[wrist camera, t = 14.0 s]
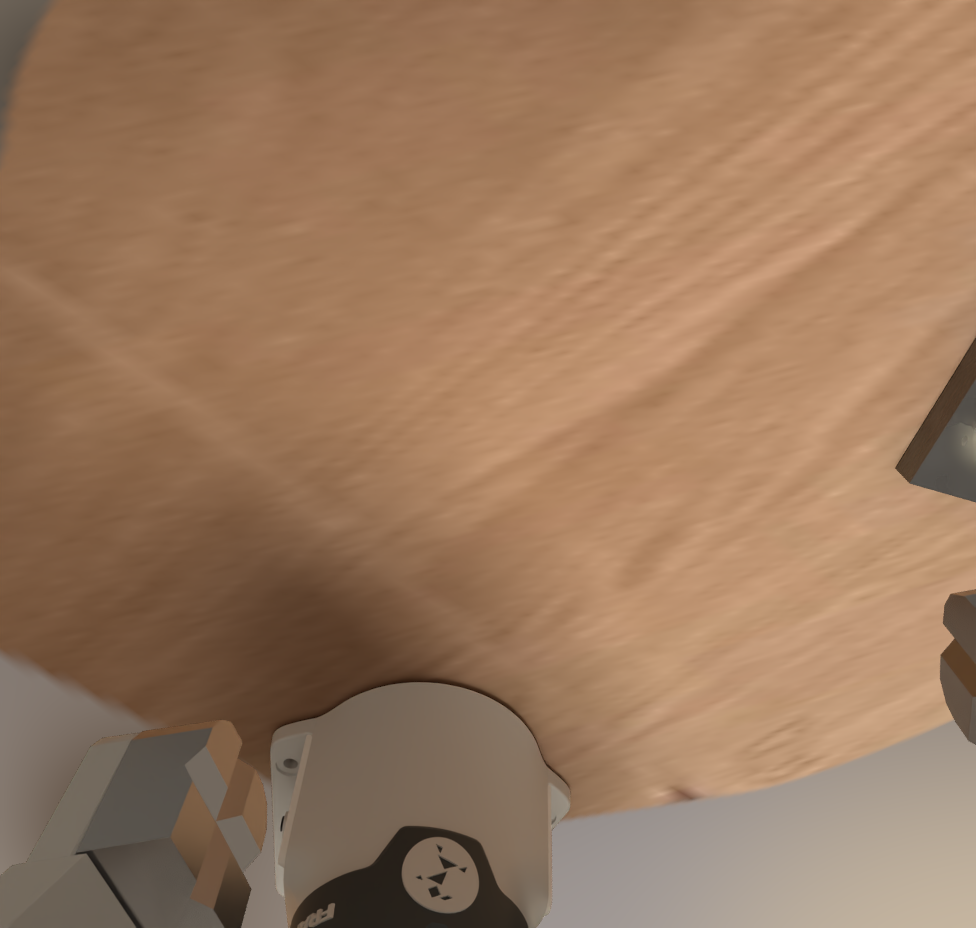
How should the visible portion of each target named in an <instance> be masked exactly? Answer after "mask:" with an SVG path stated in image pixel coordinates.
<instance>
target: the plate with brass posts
mask: <svg viewBox="0 0 976 928" xmlns="http://www.w3.org/2000/svg"><path fill="white" fill-rule="evenodd" d="M895 469H896V470H897V471H898V472H899V473H900V474H901V475H902V476H903V477H904V478H905V479H906V480H907V481H908V482H909V483H910V484H914V485H917V486H921V487H924V488H928V489H931V490H935V491H938V492H942V493H945V494H949V495H952V496H956V497H959V498H963V499H966V500H970V501H973V502H976V339H975V341H974V342H973V344H972V346H971V347H970V349H969V350H968V352H967V354H966V355H965V357H964V359H963V360H962V362H961V363H960V365H959V367H958V368H957V370H956V371H955V373H954V375H953V376H952V378H951V380H950V381H949V383H948V384H947V386H946V388H945V389H944V391H943V392H942V394H941V396H940V397H939V399H938V401H937V402H936V404H935V405H934V407H933V409H932V410H931V412H930V413H929V415H928V417H927V418H926V420H925V422H924V423H923V425H922V426H921V428H920V430H919V431H918V433H917V434H916V436H915V438H914V439H913V441H912V443H911V444H910V446H909V447H908V449H907V451H906V452H905V454H904V455H903V457H902V459H901V460H900V462H899V464H898V465H897V467H896V468H895Z"/></svg>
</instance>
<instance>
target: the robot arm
mask: <svg viewBox="0 0 976 928" xmlns="http://www.w3.org/2000/svg"><path fill="white" fill-rule="evenodd" d="M943 624H944V625H945V627H946V628H947V629H948V630H949V632H950V633H951V634H952V635H953V637H954V638H955V639H954V640H953V641H952V642H951V643H950V645H949V646H948V647H947V648H946V649H945V650H944V652H943V653H942V654H941V659H940V681H941V684H942V688H943V692H944V696H945V700H946V704H947V706H948V708H949V710H950V712H951V714H952V716H953V718H954V720H955V722H956V723H957V725H958V726H959V728H960V729H961V731H962V732H963V733H964V735H965V736H966V738H967V739H968V740H969V741H970V742H972V743H974V744H975V745H976V589H975V590H969V591H964V592H958V593H953V594H950V596H949V598H948V599H947V601H946V603H945V605H944V616H943ZM241 745H242V740H241V738H240V737H239V735H238V733H237V731H236V729H235V727H234V726H233V724H232V722H229V721H225V720H215V721H208V722H202V723H195V724H188V725H181V726H174V727H168V728H161V729H154V730H147V731H142V732H141V733H134V734H126V735H119V736H112V737H105V738H102V739H101V740H99V741H97V742H96V743H95V744H93V745H92V746H90V748H89V750H88V751H87V754H86V755H85V757H84V759H83V760H82V762H81V764H80V766H79V768H78V769H77V771H76V773H75V775H74V777H73V778H72V780H71V782H70V784H69V786H68V787H67V789H66V791H65V793H64V795H63V797H62V798H61V800H60V802H59V804H58V806H57V807H56V809H55V811H54V813H53V815H52V816H51V818H50V820H49V822H48V824H47V825H46V827H45V829H44V831H43V833H42V834H41V836H40V838H39V840H38V842H37V844H36V845H35V847H34V849H33V851H32V853H31V854H30V856H29V858H28V860H27V861H26V863H22V864H17V865H12V866H11V867H10V868H9V869H7V870H6V871H5V872H4V873H3V874H1V875H0V928H241V926H242V922H243V918H244V915H245V911H246V907H247V903H248V900H249V896H250V892H251V887H250V886H249V884H248V882H247V880H246V878H245V876H244V874H243V872H244V871H245V870H246V869H247V868H248V867H249V865H250V864H251V863H252V862H253V861H254V860H255V859H256V858H257V856H258V855H259V854H260V853H261V850H262V846H263V842H264V838H265V834H266V830H267V801H266V797H265V792H264V788H263V784H262V782H261V779H260V777H259V775H258V773H257V771H256V769H255V768H253V767H251V766H250V765H248V764H246V763H245V762H243V761H241V760H240V759H238V755H239V752H240V749H241ZM270 762H271V787H272V813H273V839H274V864H275V885H276V890H277V892H278V893H279V894H280V895H282V896H283V897H284V898H285V904H286V912H287V922H288V928H536V927H537V926H538V925H539V924H540V922H541V921H542V918H543V917H544V916H546V915H548V914H549V913H550V909H551V905H552V835H551V833H552V832H551V831H552V830H553V829H554V828H555V826H556V825H557V824H558V823H559V822H560V821H561V819H562V818H563V817H564V816H565V815H566V814H567V812H568V811H569V809H570V797H571V793H570V789H569V787H568V786H567V785H566V783H565V782H564V781H563V780H562V779H561V778H560V777H558V776H557V775H556V774H555V773H554V772H553V771H551V770H550V769H549V768H548V767H547V766H546V764H545V763H544V761H543V759H542V756H541V753H540V751H539V748H538V745H537V743H536V741H535V739H534V737H533V735H532V734H531V732H530V731H529V729H528V728H527V727H526V725H525V724H524V723H523V722H522V721H521V720H520V719H519V718H518V717H517V716H516V715H515V714H514V713H513V712H511V711H510V710H509V709H507V708H506V707H504V706H503V705H501V704H500V703H498V702H496V701H495V700H493V699H491V698H489V697H487V696H484V695H482V694H480V693H477V692H474V691H471V690H468V689H465V688H461V687H457V686H452V685H447V684H440V683H429V682H410V683H399V684H392V685H387V686H382V687H378V688H375V689H372V690H369V691H366V692H363V693H361V694H358V695H356V696H354V697H352V698H350V699H348V700H346V701H345V702H343V703H342V704H340V705H339V706H337V707H335V708H334V709H332V710H331V711H329V712H328V713H326V714H324V715H322V716H320V717H318V718H313V719H308V720H304V721H299V722H295V723H291V724H288V725H285V726H282V727H280V728H279V729H277V730H276V731H275V732H274V734H273V736H272V742H271V748H270Z"/></svg>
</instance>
